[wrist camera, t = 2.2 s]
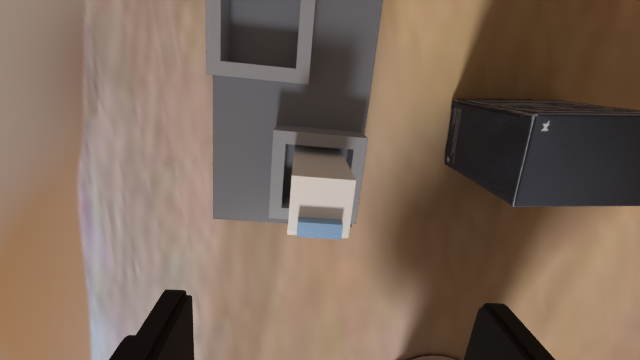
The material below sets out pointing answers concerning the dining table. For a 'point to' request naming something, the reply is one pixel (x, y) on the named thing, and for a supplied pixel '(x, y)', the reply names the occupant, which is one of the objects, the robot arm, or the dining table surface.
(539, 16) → the dining table surface
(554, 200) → the small box
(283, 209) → the panel
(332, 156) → the plug
